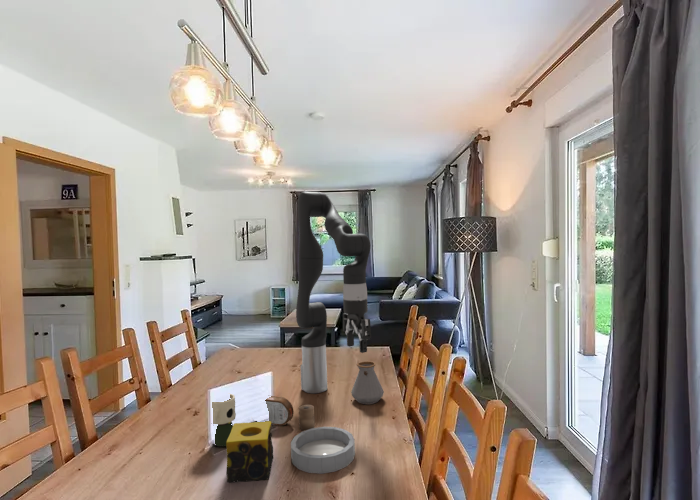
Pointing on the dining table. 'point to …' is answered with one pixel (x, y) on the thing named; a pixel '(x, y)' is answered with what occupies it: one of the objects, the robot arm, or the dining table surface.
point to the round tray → (322, 449)
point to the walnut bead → (306, 417)
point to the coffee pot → (367, 384)
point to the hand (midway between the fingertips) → (356, 349)
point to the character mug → (223, 419)
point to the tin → (279, 410)
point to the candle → (249, 452)
